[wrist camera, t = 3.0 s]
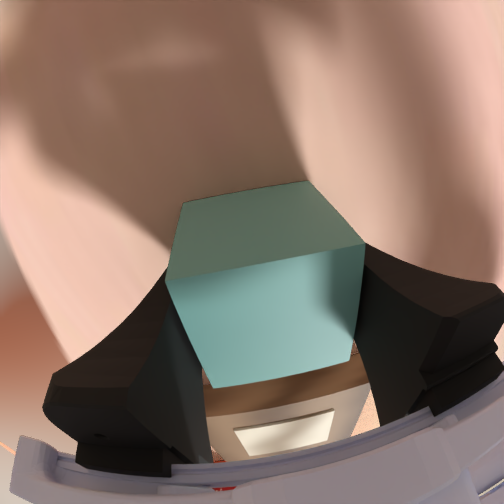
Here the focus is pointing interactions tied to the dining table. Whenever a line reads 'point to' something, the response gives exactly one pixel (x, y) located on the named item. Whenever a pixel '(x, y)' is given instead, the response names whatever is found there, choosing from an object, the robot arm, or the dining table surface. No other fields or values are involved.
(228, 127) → the dining table surface
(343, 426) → the walnut base
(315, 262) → the teal block
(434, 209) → the dining table surface
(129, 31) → the dining table surface
